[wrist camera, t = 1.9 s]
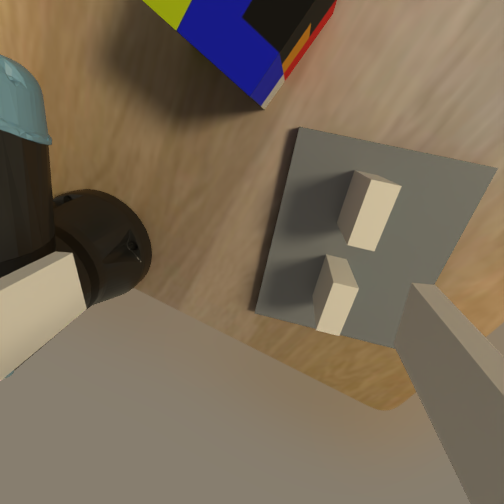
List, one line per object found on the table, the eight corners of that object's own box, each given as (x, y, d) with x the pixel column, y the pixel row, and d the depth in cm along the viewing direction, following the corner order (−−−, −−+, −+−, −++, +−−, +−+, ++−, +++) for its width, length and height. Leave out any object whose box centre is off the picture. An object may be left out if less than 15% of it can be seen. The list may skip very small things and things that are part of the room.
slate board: (395, 343, 38) (398, 349, 37) (255, 308, 39) (254, 313, 38) (490, 167, 28) (497, 168, 27) (299, 127, 29) (299, 126, 28)
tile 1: (359, 228, 31) (376, 251, 25) (336, 223, 31) (347, 245, 25) (379, 175, 29) (403, 186, 22) (354, 170, 29) (371, 179, 22)
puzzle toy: (264, 109, 29) (249, 97, 20) (189, 42, 28) (136, -5, 19) (332, 13, 25) (353, -57, 16) (249, -71, 24) (219, -200, 15)
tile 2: (332, 300, 35) (340, 336, 29) (312, 295, 35) (316, 330, 29) (347, 259, 33) (360, 289, 26) (326, 254, 33) (333, 282, 26)
